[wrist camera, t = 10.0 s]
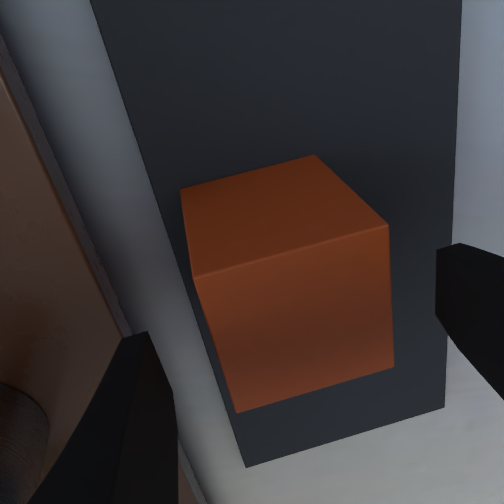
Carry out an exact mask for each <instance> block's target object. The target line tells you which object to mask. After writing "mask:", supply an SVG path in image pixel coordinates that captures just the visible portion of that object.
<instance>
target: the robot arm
mask: <svg viewBox="0 0 504 504" xmlns="http://www.w3.org/2000/svg"><path fill="white" fill-rule="evenodd" d="M435 315H436V317H437V318H438V320H439V321H440V323H441V324H442V326H443V327H444V329H445V331H446V332H447V334H448V335H449V336H450V338H451V339H452V341H453V342H454V344H455V345H456V346H457V348H458V349H459V350H460V351H461V352H462V354H463V355H464V356H465V357H466V358H467V359H468V360H469V362H470V363H471V364H472V365H473V366H474V367H475V368H476V370H477V371H478V372H479V373H480V374H481V375H482V376H483V377H484V379H485V380H486V381H487V382H488V383H489V384H490V385H491V386H492V388H493V389H494V390H495V391H496V392H497V393H498V394H499V395H500V396H501V398H502V399H503V400H504V257H501V256H499V255H496V254H493V253H490V252H487V251H484V250H481V249H478V248H475V247H472V246H469V245H465V244H462V243H458V244H454V245H450V246H447V247H443V248H440V249H436V287H435ZM27 504H179V490H178V429H177V421H176V413H175V406H174V398H173V391H172V389H171V386H170V384H169V381H168V379H167V377H166V374H165V372H164V369H163V367H162V364H161V362H160V360H159V357H158V355H157V352H156V350H155V348H154V345H153V343H152V340H151V338H150V335H149V333H148V331H146V332H142V333H139V334H135V335H131V336H128V337H124V338H122V339H121V341H120V342H119V344H118V346H117V348H116V350H115V352H114V354H113V357H112V359H111V361H110V363H109V365H108V367H107V369H106V371H105V373H104V375H103V377H102V379H101V381H100V383H99V385H98V387H97V389H96V391H95V393H94V395H93V397H92V399H91V401H90V403H89V404H88V406H87V408H86V410H85V412H84V414H83V416H82V418H81V419H80V421H79V423H78V425H77V426H76V428H75V430H74V431H73V433H72V435H71V436H70V438H69V440H68V441H67V443H66V445H65V447H64V448H63V450H62V452H61V453H60V455H59V457H58V458H57V460H56V461H55V463H54V464H53V466H52V467H51V469H50V471H49V472H48V474H47V475H46V477H45V478H44V480H43V481H42V483H41V484H40V485H39V487H38V488H37V490H36V491H35V493H34V494H33V495H32V497H31V498H30V500H29V501H28V503H27Z"/></svg>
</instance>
